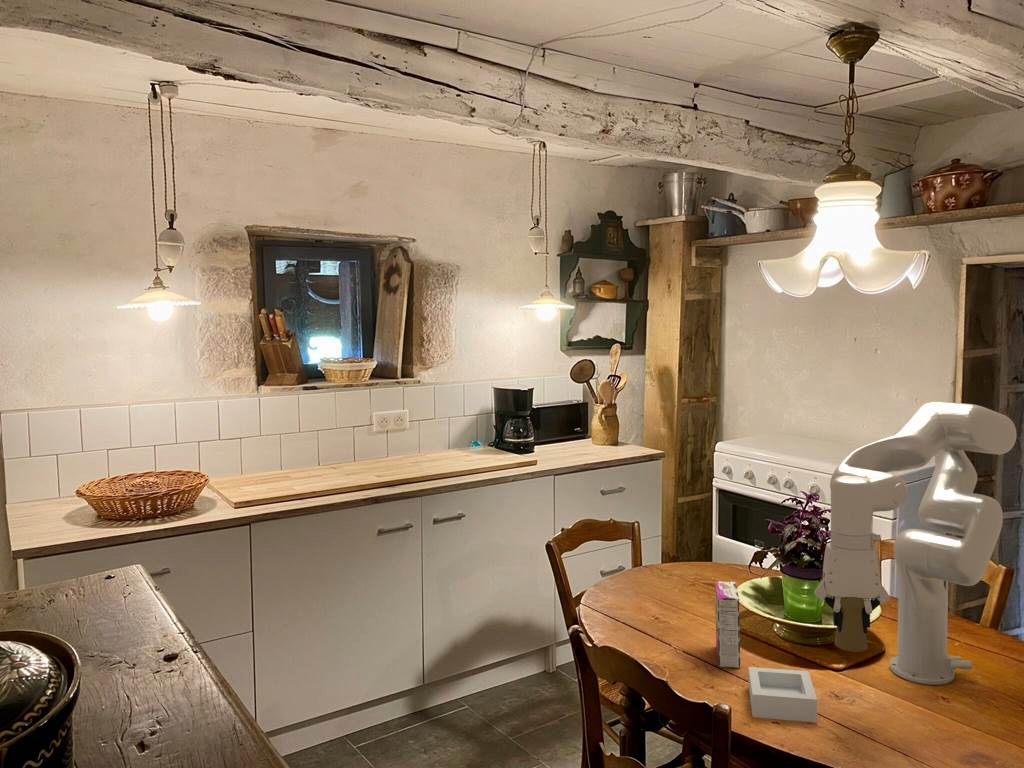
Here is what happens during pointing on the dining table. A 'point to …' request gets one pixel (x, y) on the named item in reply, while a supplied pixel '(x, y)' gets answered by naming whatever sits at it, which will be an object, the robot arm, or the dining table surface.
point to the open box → (782, 694)
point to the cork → (851, 626)
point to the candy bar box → (727, 624)
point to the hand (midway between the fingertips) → (851, 629)
